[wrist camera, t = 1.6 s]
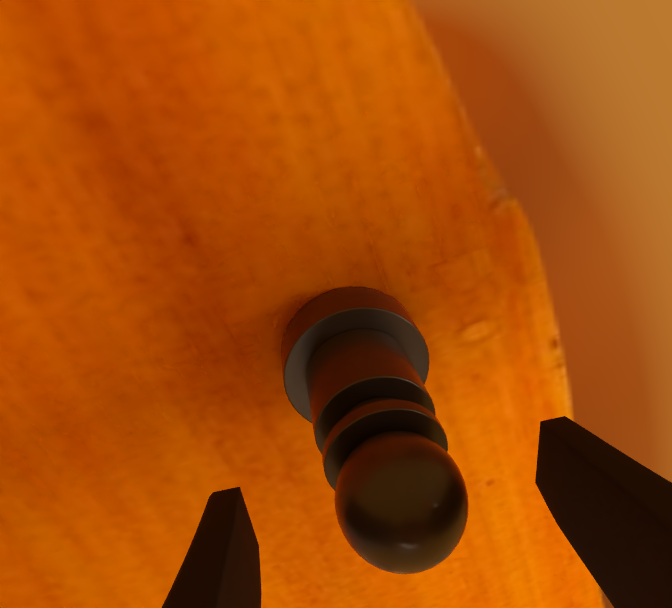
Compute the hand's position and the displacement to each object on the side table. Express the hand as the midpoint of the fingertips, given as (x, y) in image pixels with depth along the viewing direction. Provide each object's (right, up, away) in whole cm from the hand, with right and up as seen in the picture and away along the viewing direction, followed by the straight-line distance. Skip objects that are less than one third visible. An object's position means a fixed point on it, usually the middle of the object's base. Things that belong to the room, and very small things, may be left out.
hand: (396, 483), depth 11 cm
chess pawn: (-1, +3, +5) cm, 6 cm away
